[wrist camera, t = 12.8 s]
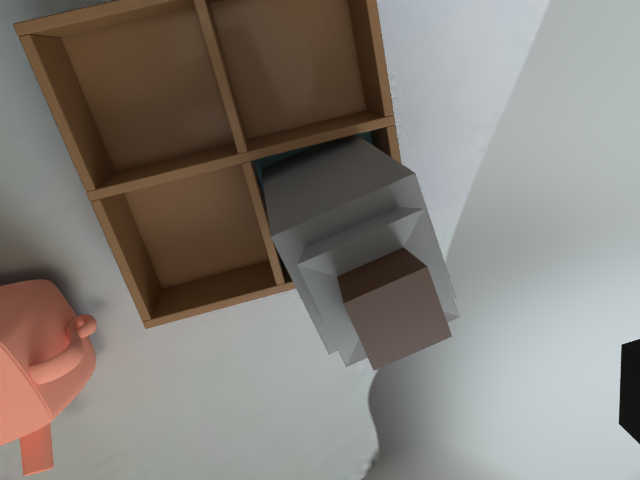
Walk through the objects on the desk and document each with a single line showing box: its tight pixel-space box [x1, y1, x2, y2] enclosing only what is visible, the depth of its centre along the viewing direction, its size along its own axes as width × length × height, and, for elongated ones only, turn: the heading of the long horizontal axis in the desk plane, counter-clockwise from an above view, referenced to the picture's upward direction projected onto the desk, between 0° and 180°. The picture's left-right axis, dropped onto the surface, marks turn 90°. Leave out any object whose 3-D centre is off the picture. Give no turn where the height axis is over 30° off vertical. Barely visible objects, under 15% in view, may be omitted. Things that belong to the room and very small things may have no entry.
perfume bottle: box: [261, 135, 460, 370], centre depth 25 cm, size 7×7×18 cm
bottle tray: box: [13, 0, 401, 329], centre depth 30 cm, size 19×19×5 cm
